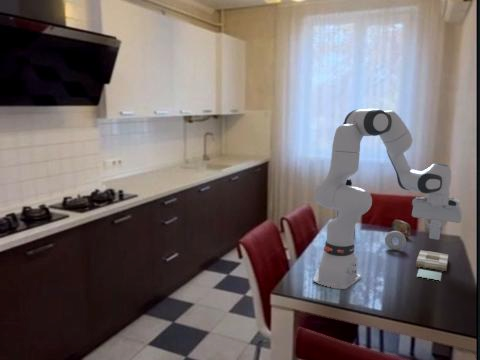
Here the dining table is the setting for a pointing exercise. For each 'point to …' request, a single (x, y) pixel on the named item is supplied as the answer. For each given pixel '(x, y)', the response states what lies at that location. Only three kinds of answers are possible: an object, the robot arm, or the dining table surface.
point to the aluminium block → (435, 229)
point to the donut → (395, 235)
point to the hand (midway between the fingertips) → (435, 229)
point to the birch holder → (432, 260)
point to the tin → (401, 227)
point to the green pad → (429, 274)
